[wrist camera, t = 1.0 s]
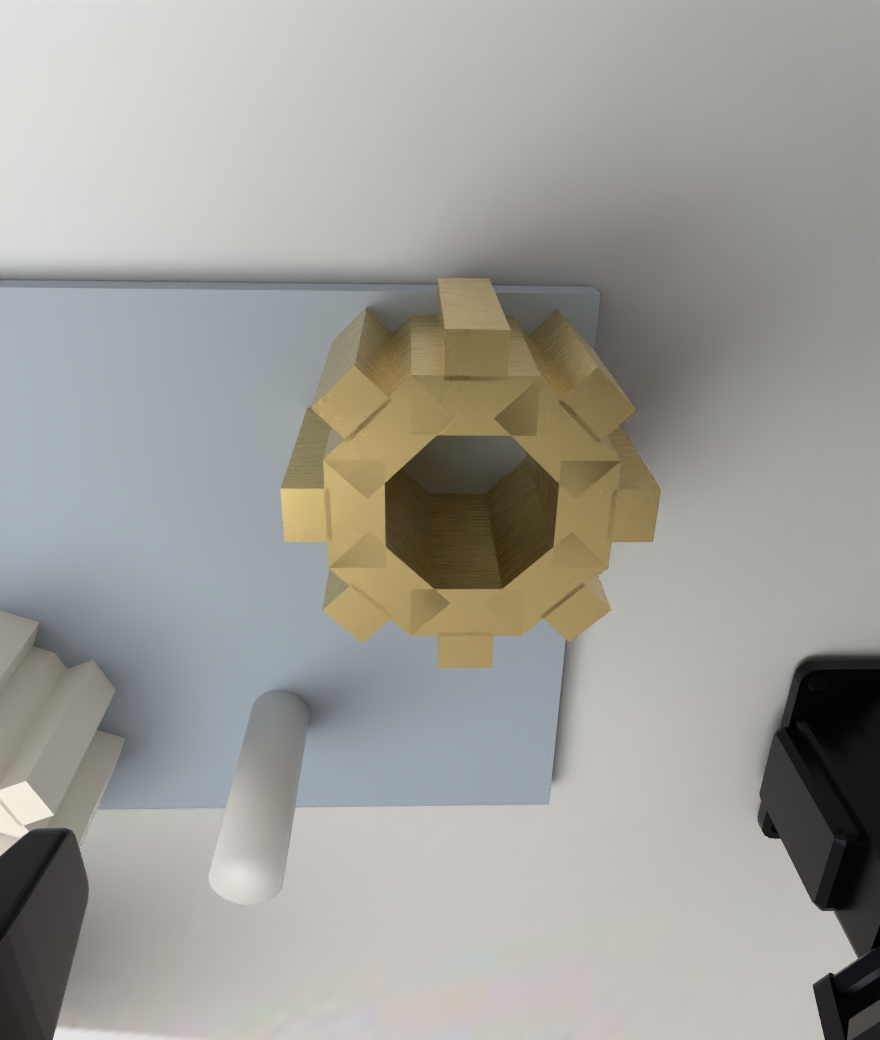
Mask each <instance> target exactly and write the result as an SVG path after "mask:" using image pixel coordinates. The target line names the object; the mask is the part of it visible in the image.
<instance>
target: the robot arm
mask: <svg viewBox="0 0 880 1040" xmlns="http://www.w3.org/2000/svg"><path fill="white" fill-rule="evenodd" d="M814 677H819V678H818V679H817V680H815V681H814V682H809V681H810V680H811V679H813V678H814ZM760 798H761V800H762V802H761V806H760V810H759V814H758V823H759V825H760V828H761V830H762V832H763V833H764V835H765V836H767V837H769V838H774V839H781V840H782V842H783V844H784V846H785V848H786V850H787V852H788V854H789V856H790V858H791V860H792V862H793V864H794V866H795V868H796V870H797V872H798V874H799V876H800V878H801V880H802V882H803V884H804V886H805V888H806V890H807V892H808V894H809V896H810V898H811V900H812V902H813V903H814V904H815V905H816V906H817V907H818V908H819V909H820V910H822V911H834V913H835V915H836V917H837V919H838V921H839V922H840V924H841V926H842V928H843V930H844V932H845V934H846V936H847V938H848V940H849V942H850V944H851V946H852V948H853V950H854V952H855V953H856V955H857V957H858V959H857V960H856V961H854V962H853V963H851V964H850V965H848V966H847V967H845V968H844V969H842V970H841V971H839V972H838V973H837V974H835V975H834V974H832V973H829V974H828V975H826V976H825V977H823V978H822V979H820V980H819V981H817V982H816V983H814V984H813V989H814V994H815V998H816V1003H817V1007H818V1011H819V1016H820V1020H821V1025H822V1029H823V1033H824V1038H825V1040H880V660H868V661H810V662H807V663H805V664H803V665H801V666H800V667H799V668H798V669H797V670H796V672H795V674H794V676H793V680H792V684H791V688H790V692H789V696H788V700H787V704H786V708H785V712H784V716H783V720H782V723H781V727H780V728H779V729H778V730H777V731H776V733H775V734H774V737H773V741H772V745H771V749H770V753H769V757H768V761H767V765H766V769H765V773H764V777H763V781H762V785H761V789H760ZM88 894H89V885H88V878H87V874H86V871H85V867H84V863H83V860H82V856H81V853H80V849H79V845H78V842H77V838H76V836H75V833H74V832H73V831H72V830H71V829H68V828H39V829H34V830H31V831H29V832H28V833H26V834H25V835H24V836H22V837H21V838H20V839H19V840H18V841H17V842H16V843H14V844H13V845H12V846H11V847H10V848H9V849H7V850H6V851H5V852H4V853H3V854H2V855H1V856H0V1040H53V1036H54V1033H55V1029H56V1026H57V1022H58V1018H59V1014H60V1010H61V1006H62V1002H63V998H64V994H65V990H66V986H67V982H68V978H69V974H70V970H71V966H72V962H73V958H74V954H75V950H76V946H77V942H78V938H79V934H80V930H81V926H82V922H83V918H84V914H85V910H86V906H87V902H88Z"/></svg>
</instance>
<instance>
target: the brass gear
mask: <svg viewBox="0 0 880 1040" xmlns="http://www.w3.org/2000/svg"><path fill="white" fill-rule="evenodd" d="M636 411H637V410H636V409H635V407H634V406H633V404H632V403H631V402H630V400H629V399H628V397H627V396H626V394H625V393H624V392H623V390H622V389H621V387H620V386H619V385H618V383H617V382H616V380H615V379H614V378H613V376H612V375H611V373H610V372H609V371H608V369H607V368H606V366H605V365H604V364H603V362H602V361H601V359H600V358H599V356H598V355H597V354H596V352H595V351H594V349H593V348H592V347H591V345H590V344H589V343H588V342H587V341H586V339H585V338H584V337H583V336H582V335H581V334H580V333H579V332H578V331H577V329H576V328H575V327H574V326H573V325H572V324H571V323H570V322H569V321H568V319H567V318H566V317H565V316H564V315H563V314H562V313H561V312H560V311H559V309H557V310H556V311H555V312H554V313H553V314H552V315H551V316H549V317H548V318H547V319H546V320H545V321H544V322H543V323H542V324H541V325H540V326H539V327H538V328H537V329H535V330H534V331H533V332H532V333H531V334H530V333H529V332H528V331H527V330H526V329H525V328H524V327H523V326H522V325H521V324H520V323H519V321H518V320H517V319H516V318H515V317H514V316H505V315H504V313H503V310H502V308H501V306H500V303H499V301H498V298H497V296H496V294H495V291H494V289H493V287H492V284H491V282H490V279H489V278H438V297H437V315H411V316H410V317H409V318H408V319H407V320H406V321H405V322H404V323H403V324H402V325H401V326H400V327H399V328H397V329H396V330H395V331H394V332H393V333H392V332H391V331H390V330H389V329H388V328H387V327H386V326H385V325H384V324H383V323H382V322H381V321H380V320H379V319H378V318H377V317H376V316H375V315H374V314H373V313H372V312H371V311H370V310H369V309H368V308H367V307H366V308H365V309H364V310H363V311H362V312H361V313H360V314H359V315H358V316H357V317H356V318H355V319H354V320H353V321H352V322H351V323H350V324H349V325H348V326H347V327H346V328H345V329H344V330H343V331H342V332H341V333H340V334H339V335H338V336H337V337H336V338H335V340H334V341H333V342H332V344H331V347H330V350H329V353H328V356H327V360H326V363H325V366H324V369H323V372H322V375H321V378H320V382H319V385H318V388H317V391H316V394H315V397H314V401H313V404H312V407H311V408H307V409H306V412H305V415H304V418H303V421H302V424H301V427H300V431H299V434H298V437H297V440H296V443H295V446H294V449H293V452H292V455H291V458H290V461H289V464H288V467H287V470H286V473H285V476H284V479H283V482H282V485H281V488H280V491H281V504H282V517H283V530H284V542H327V550H328V568H329V573H328V579H327V585H326V591H325V597H324V603H323V608H322V611H323V612H324V613H326V614H327V615H328V616H329V617H331V618H332V619H333V620H334V621H336V622H337V623H338V624H339V625H341V626H342V627H343V628H344V629H346V630H347V631H348V632H349V633H351V634H352V635H353V636H354V637H356V638H357V639H358V640H359V641H361V642H362V643H363V642H365V641H366V640H367V639H368V638H369V637H371V636H372V635H373V634H374V633H375V632H376V631H378V630H379V629H380V628H381V627H382V626H384V625H385V624H386V623H387V622H388V621H389V620H392V621H393V622H394V623H396V624H397V625H398V626H399V627H400V628H402V629H403V630H404V631H405V632H407V633H408V634H409V635H410V636H437V645H438V666H439V668H492V661H493V642H494V636H522V635H524V634H525V633H526V632H527V631H529V630H530V629H531V628H532V627H534V626H535V625H536V624H537V623H539V622H540V621H541V620H543V619H544V620H545V621H546V622H547V623H548V624H549V625H551V626H552V627H553V628H554V629H555V630H556V631H557V632H558V633H559V634H560V635H562V636H563V637H564V638H565V639H566V640H567V641H568V642H570V641H571V640H573V639H574V638H575V637H577V636H578V635H579V634H580V633H582V632H583V631H584V630H586V629H587V628H588V627H590V626H591V625H592V624H593V623H595V622H596V621H597V620H599V619H600V618H601V617H603V616H604V615H605V614H606V613H608V612H609V611H610V610H611V608H610V605H609V603H608V600H607V598H606V595H605V592H604V590H603V587H602V585H601V582H600V579H599V577H598V575H600V574H601V573H602V572H603V571H605V570H606V569H607V568H608V566H609V557H610V549H611V542H653V538H654V532H655V525H656V518H657V511H658V505H659V498H660V491H661V489H660V488H659V486H658V484H657V483H656V481H655V480H654V478H653V476H652V475H651V473H650V472H649V470H648V468H647V467H646V465H645V464H644V462H643V460H642V459H641V457H640V456H639V454H638V453H637V451H636V449H635V448H634V446H633V445H632V443H631V441H630V440H629V438H628V437H627V435H626V433H625V432H624V430H623V429H622V427H621V426H620V424H621V423H623V422H624V421H625V420H626V419H627V418H628V417H630V416H631V415H632V414H633V413H634V412H636ZM437 435H477V436H512V437H513V438H514V439H515V440H516V441H517V442H518V443H519V444H520V445H521V446H522V447H523V448H524V449H525V450H526V458H525V459H524V460H523V461H522V462H520V463H519V464H518V465H517V466H516V467H515V468H513V469H512V470H511V471H510V472H509V473H508V474H507V475H505V476H504V477H503V478H502V479H501V480H500V481H499V482H497V483H496V484H495V485H494V486H493V487H492V488H491V489H489V490H488V491H487V492H486V493H485V494H430V493H429V492H428V491H427V490H425V489H424V488H423V487H422V486H421V485H420V484H419V483H418V482H417V481H416V480H415V479H414V478H412V477H411V476H410V475H409V474H408V473H407V472H406V471H405V470H404V469H403V468H402V467H403V466H404V465H405V464H406V463H407V462H408V461H409V460H411V459H412V458H413V457H414V456H415V455H416V454H417V453H418V452H419V451H420V450H421V449H423V448H424V447H425V446H426V445H427V444H428V443H429V442H430V441H431V440H432V439H433V438H434V437H436V436H437Z"/></svg>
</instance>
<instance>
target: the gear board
mask: <svg viewBox="0 0 880 1040" xmlns="http://www.w3.org/2000/svg"><path fill="white" fill-rule="evenodd" d="M492 287H493V289H494V291H495V294H496V296H497V298H498V301H499V303H500V306H501V308H502V310H503V313H504V315H505V316H514V317H515V318H516V319H517V320H518V321H519V323H520V324H521V325H522V326H523V327H524V328H525V329H526V330H527V331H528V332H529V333H530V334H531V333H532V332H533V331H534V330H535V329H537V328H538V327H539V326H540V325H541V324H542V323H543V322H544V321H545V320H546V319H547V318H548V317H549V316H551V315H552V314H553V313H554V312H555V311H556V310H557V309H559V311H560V312H561V313H562V314H563V315H564V316H565V317H566V318H567V319H568V321H569V322H570V323H571V324H572V325H573V326H574V327H575V328H576V329H577V331H578V332H579V333H580V334H581V335H582V336H583V337H584V338H585V339H586V341H587V342H588V343H589V344H590V345H591V347H592V348H593V349H594V351H595V347H596V337H597V327H598V317H599V308H600V298H601V293H600V292H599V291H598V290H597V289H596V288H595V287H594V286H538V285H492ZM437 297H438V284H351V283H257V282H164V281H70V280H0V610H2V611H5V612H8V613H11V614H14V615H18V616H21V617H24V618H27V619H30V620H34V621H37V622H40V623H39V627H38V630H37V634H36V638H35V642H34V645H33V646H34V647H38V648H41V649H44V650H47V651H51V652H54V653H56V655H57V656H58V657H59V659H60V660H61V661H62V663H63V664H64V665H65V667H66V668H67V669H69V668H72V667H75V666H77V665H80V664H83V663H86V662H88V661H91V660H94V661H95V662H96V663H97V665H98V666H99V668H100V669H101V670H102V672H103V673H104V675H105V676H106V677H107V679H108V680H109V681H110V683H111V684H112V686H113V687H114V688H115V690H116V691H115V693H114V695H113V697H112V699H111V701H110V703H109V705H108V707H107V709H106V711H105V713H104V715H103V718H102V720H101V722H100V724H99V726H98V728H97V730H99V731H102V732H106V733H109V734H113V735H116V736H119V737H123V738H125V741H124V743H123V746H122V749H121V752H120V755H119V758H118V761H117V764H116V767H115V769H114V771H113V773H112V776H111V778H110V780H109V783H108V785H107V787H106V789H105V792H104V794H103V796H102V799H101V801H100V803H99V805H98V808H97V809H178V808H226V810H225V813H224V817H223V821H222V825H221V829H220V833H219V837H218V841H217V844H216V848H215V852H214V856H213V860H212V864H211V868H210V871H209V883H210V885H211V887H212V889H213V890H214V891H215V893H217V894H218V895H219V896H220V897H222V898H223V899H225V900H227V901H230V902H233V903H237V904H243V905H254V904H260V903H263V902H266V901H268V900H270V899H272V898H273V897H275V896H276V895H277V894H278V893H279V891H280V890H281V888H282V884H283V879H284V872H285V866H286V860H287V854H288V848H289V842H290V835H291V829H292V823H293V817H294V811H295V807H361V806H453V805H545V804H549V801H550V791H551V781H552V771H553V761H554V751H555V741H556V732H557V722H558V712H559V702H560V692H561V682H562V672H563V663H564V653H565V643H566V639H565V638H564V637H563V636H562V635H560V634H559V633H558V632H557V631H556V630H555V629H554V628H553V627H552V626H551V625H549V624H548V623H547V622H546V621H545V620H544V619H543V620H541V621H540V622H539V623H537V624H536V625H535V626H534V627H532V628H531V629H530V630H529V631H527V632H526V633H525V634H524V635H522V636H494V642H493V661H492V668H439V666H438V645H437V636H410V635H409V634H408V633H407V632H405V631H404V630H403V629H402V628H400V627H399V626H398V625H397V624H396V623H394V622H393V621H392V620H389V621H388V622H387V623H386V624H385V625H384V626H382V627H381V628H380V629H379V630H378V631H376V632H375V633H374V634H373V635H372V636H371V637H369V638H368V639H367V640H366V641H365V642H363V643H362V642H361V641H359V640H358V639H357V638H356V637H354V636H353V635H352V634H351V633H349V632H348V631H347V630H346V629H344V628H343V627H342V626H341V625H339V624H338V623H337V622H336V621H334V620H333V619H332V618H331V617H329V616H328V615H327V614H326V613H324V612H323V611H322V608H323V603H324V597H325V591H326V585H327V579H328V573H329V568H328V550H327V542H284V530H283V517H282V504H281V491H280V488H281V485H282V482H283V479H284V476H285V473H286V470H287V467H288V464H289V461H290V458H291V455H292V452H293V449H294V446H295V443H296V440H297V437H298V434H299V431H300V427H301V424H302V421H303V418H304V415H305V412H306V409H307V408H311V407H312V404H313V401H314V397H315V394H316V391H317V388H318V385H319V382H320V378H321V375H322V372H323V369H324V366H325V363H326V360H327V356H328V353H329V350H330V347H331V344H332V342H333V341H334V340H335V338H336V337H337V336H338V335H339V334H340V333H341V332H342V331H343V330H344V329H345V328H346V327H347V326H348V325H349V324H350V323H351V322H352V321H353V320H354V319H355V318H356V317H357V316H358V315H359V314H360V313H361V312H362V311H363V310H364V309H365V308H366V307H367V308H368V309H369V310H370V311H371V312H372V313H373V314H374V315H375V316H376V317H377V318H378V319H379V320H380V321H381V322H382V323H383V324H384V325H385V326H386V327H387V328H388V329H389V330H390V331H391V332H392V333H393V332H394V331H395V330H396V329H397V328H399V327H400V326H401V325H402V324H403V323H404V322H405V321H406V320H407V319H408V318H409V317H410V316H411V315H437ZM525 458H526V450H525V449H524V448H523V447H522V446H521V445H520V444H519V443H518V442H517V441H516V440H515V439H514V438H513V437H512V436H477V435H437V436H436V437H434V438H433V439H432V440H431V441H430V442H429V443H428V444H427V445H426V446H425V447H424V448H423V449H421V450H420V451H419V452H418V453H417V454H416V455H415V456H414V457H413V458H412V459H411V460H409V461H408V462H407V463H406V464H405V465H404V466H403V467H402V468H403V469H404V470H405V471H406V472H407V473H408V474H409V475H410V476H411V477H412V478H414V479H415V480H416V481H417V482H418V483H419V484H420V485H421V486H422V487H423V488H424V489H425V490H427V491H428V492H429V493H430V494H485V493H486V492H487V491H488V490H489V489H491V488H492V487H493V486H494V485H495V484H496V483H497V482H499V481H500V480H501V479H502V478H503V477H504V476H505V475H507V474H508V473H509V472H510V471H511V470H512V469H513V468H515V467H516V466H517V465H518V464H519V463H520V462H522V461H523V460H524V459H525Z"/></svg>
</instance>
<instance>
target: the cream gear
mask: <svg viewBox="0 0 880 1040" xmlns="http://www.w3.org/2000/svg"><path fill="white" fill-rule="evenodd" d="M39 623H40V622H37V621H34V620H30V619H27V618H24V617H21V616H18V615H14V614H11V613H8V612H5V611H2V610H0V856H1V855H2V854H3V853H4V852H5V851H6V850H7V849H9V848H10V847H11V846H12V845H13V844H14V843H16V842H17V841H18V840H19V839H20V838H21V837H22V836H24V835H25V834H26V833H28V832H29V831H31V830H34V829H39V828H68V829H71V830H72V831H73V832H74V833H75V836H76V838H77V842H78V845H79V849H80V846H81V844H82V842H83V840H84V837H85V835H86V833H87V830H88V828H89V826H90V824H91V821H92V819H93V817H94V814H95V812H96V810H97V808H98V805H99V803H100V801H101V799H102V796H103V794H104V792H105V789H106V787H107V785H108V783H109V780H110V778H111V776H112V773H113V771H114V769H115V767H116V764H117V761H118V758H119V755H120V752H121V749H122V746H123V743H124V741H125V738H123V737H119V736H116V735H113V734H109V733H106V732H102V731H99V730H97V728H98V726H99V724H100V722H101V720H102V718H103V715H104V713H105V711H106V709H107V707H108V705H109V703H110V701H111V699H112V697H113V695H114V693H115V691H116V690H115V688H114V687H113V686H112V684H111V683H110V681H109V680H108V679H107V677H106V676H105V675H104V673H103V672H102V670H101V669H100V668H99V666H98V665H97V663H96V662H95V661H94V660H91V661H88V662H86V663H83V664H80V665H77V666H75V667H72V668H69V669H67V668H66V667H65V665H64V664H63V663H62V661H61V660H60V659H59V657H58V656H57V655H56V653H54V652H51V651H47V650H44V649H41V648H38V647H34V646H33V645H34V642H35V638H36V634H37V630H38V627H39Z"/></svg>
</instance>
